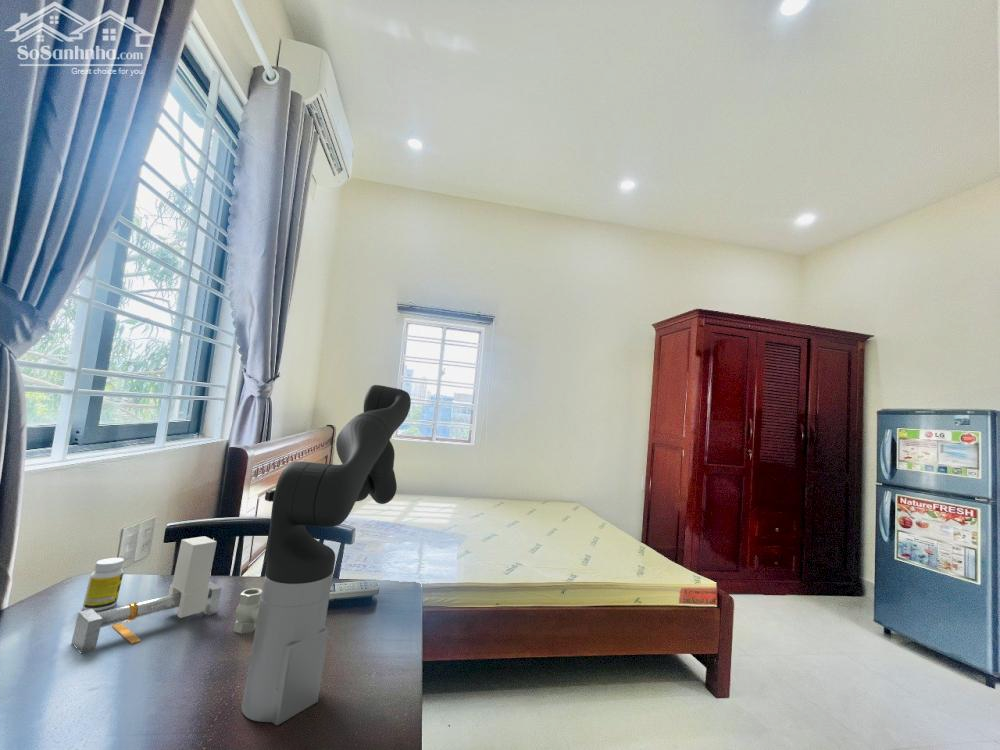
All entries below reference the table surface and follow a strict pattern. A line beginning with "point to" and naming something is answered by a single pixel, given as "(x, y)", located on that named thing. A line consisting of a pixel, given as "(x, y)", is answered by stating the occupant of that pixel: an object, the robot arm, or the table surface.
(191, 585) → the tall white pillar block
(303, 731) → the table surface
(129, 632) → the rail
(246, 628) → the valve
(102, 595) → the supplement bottle
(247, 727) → the table surface
